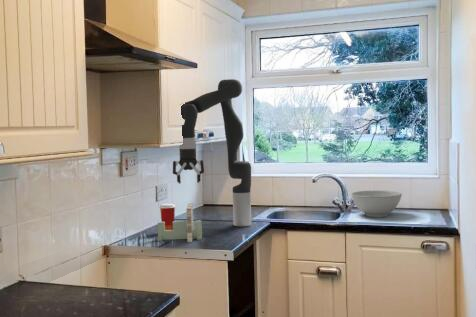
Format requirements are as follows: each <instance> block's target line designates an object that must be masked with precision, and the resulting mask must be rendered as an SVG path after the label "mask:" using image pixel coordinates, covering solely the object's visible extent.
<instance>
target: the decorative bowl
mask: <svg viewBox="0 0 476 317" xmlns="http://www.w3.org/2000/svg"><path fill="white" fill-rule="evenodd" d="M402 195H403V194H402V193H401V192H399V191H395V190H394V191H392V190H358V191H353V192H352V193H351V198H352V201H353V202H354V205H355V207H357V209H358V210H360V211H361V212H362V213H364V215H365V217H370V218H382V217H383V218H384V217H387V216H389V213H390V214H391V213H392V211H394V210H396V208H397V206H398V205H399V203H400V201H401V198H402Z"/></svg>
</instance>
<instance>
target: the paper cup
mask: <svg viewBox="0 0 476 317" xmlns="http://www.w3.org/2000/svg"><path fill="white" fill-rule="evenodd" d="M159 209H160V220H161V221H160V222H165V230H173V221H175V220H176V218H175V216H176V215H175V214H176V212H175V210H176V205H175V203H170V202H169V203H161V204H160V205H159Z"/></svg>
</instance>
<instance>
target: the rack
mask: <svg viewBox="0 0 476 317" xmlns="http://www.w3.org/2000/svg"><path fill="white" fill-rule="evenodd" d="M202 228H203V227H202V220H193V230H192V233H193V239H194V240H195V239H196V240H197V241H202V237H203V232H202ZM156 239H157V242H163V240H164V241H165V240H166V241H167V240H168V241H169V240H188V238H187V220H177V221H176V220H174V221H173V230H165V222H162V221H157V238H156Z"/></svg>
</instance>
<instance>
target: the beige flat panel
mask: <svg viewBox="0 0 476 317" xmlns="http://www.w3.org/2000/svg"><path fill="white" fill-rule="evenodd" d="M193 208H194V207H193V203H188V204H187V207H186V225H187V238H188V239H187V243H193V233H192V230H193V229H194V209H193Z"/></svg>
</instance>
